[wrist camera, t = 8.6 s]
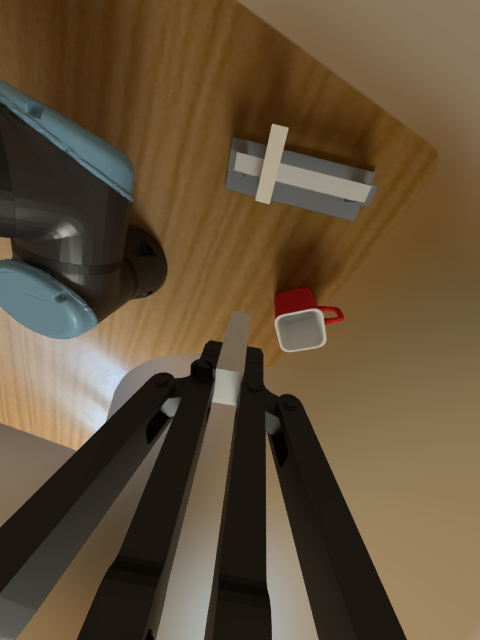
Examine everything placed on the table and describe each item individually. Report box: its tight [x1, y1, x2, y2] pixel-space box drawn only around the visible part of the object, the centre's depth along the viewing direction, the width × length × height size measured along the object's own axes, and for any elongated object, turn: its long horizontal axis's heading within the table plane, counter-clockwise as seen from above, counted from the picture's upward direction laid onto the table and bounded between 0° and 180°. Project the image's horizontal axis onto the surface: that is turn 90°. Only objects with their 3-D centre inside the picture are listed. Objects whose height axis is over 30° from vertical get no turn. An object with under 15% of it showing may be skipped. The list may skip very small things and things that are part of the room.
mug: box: [274, 287, 344, 352], centre depth 41 cm, size 12×8×11 cm
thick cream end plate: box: [255, 124, 289, 204], centre depth 30 cm, size 2×8×8 cm, turn 168°
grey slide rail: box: [225, 137, 378, 221], centre depth 32 cm, size 23×7×7 cm, turn 78°
